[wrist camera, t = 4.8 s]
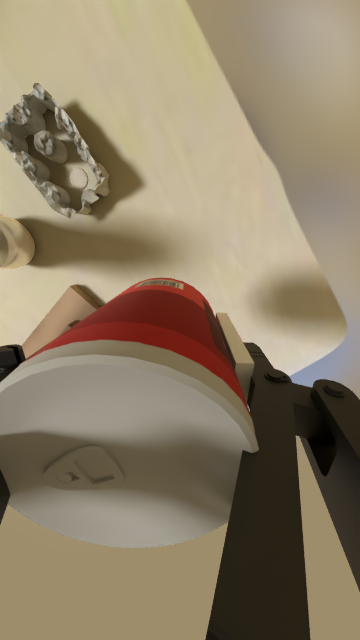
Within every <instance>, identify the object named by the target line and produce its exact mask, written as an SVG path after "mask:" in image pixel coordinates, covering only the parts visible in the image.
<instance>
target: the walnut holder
mask: <svg viewBox="0 0 360 640" xmlns="http://www.w3.org/2000/svg"><path fill="white" fill-rule="evenodd" d="M99 308H101V307H100V306H99V305H98V304H97V303H96V302H95V301H94V300H92V299H91V298H90V297H89V296H88V295H87V294H86V293H85V292H83V291H82V290H81V289H80V288H79V287H78V286H77V285H73V286H70V287H69V288H68V289H67V290H66V292H65V293H64V294H63V295H62V297H61V298H60V299H59V300H58V301H57V303H56V304H55V305H54V306H53V308H52V309H51V310H50V311H49V313H48V314H47V315H46V316H45V318H44V319H43V320H42V321H41V322H40V324H39V325H38V326H37V327H36V329H35V330H34V331H33V332H32V334H31V335H30V336H29V337H28V339H27V340H26V341H25V342H24V344H23V345H22V348H23V351H24V355H25V358H26V359H27V358H28V357H29V356H31V355H32V354H34V353H35V352H37V351H39V349H41V348H42V347H44V346H45V345H47V344H48V343H49V342H51V341H53V340H54V339H56V338H57V337H58V336H60V335H61V334H63V333H64V332H66V331H67V330H69V329H70V328H72V327H73V326H74V325H76V324H77V323H79V322H80V321H82V320H83V319H85V318H86V317H87V316H89V315H90V314H92V313H93V312H95V311H96V310H98V309H99Z"/></svg>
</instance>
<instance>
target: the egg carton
mask: <svg viewBox="0 0 360 640" xmlns="http://www.w3.org/2000/svg"><path fill="white" fill-rule="evenodd" d="M33 88H34V90H33V92H32V93H31V94H29V95H22V96H21V101H20V103H18V104H17V105H14V106H13V108H12V110H10V111H9V112H7V113H5V115H6V120H5V121H2V122H0V141H1V142H2V144H3V145H4V146H5V147H6V149H7V150H8V151H9V152H10V153H11V154H12V155H13V156H14V158H15V160H16V162H17V163H19V164H20V165H21V167H22V171H23V172H24V173H25V174H26V175H27V176H28V177H29V179H30V180H31V181H32V182H33V184H34V185H35V187H36V188H37V189H38V190H39V191H40V192H41V194H42V195H43V197H44V198H45V199H46V201H47V202H48V204H49V205H50V206H51V207H52V208H53V209H54V210H55V211H57V212H58V213H60V214H62V215H64V216H67V217H68V218H70V219H71V218H73V217H74V216H75V213H76V212H79V213H81V214H84V215H87V214H88V213H89V212H91V208H90V204H92V203H94V202H95V201H96V200H97V199H99V197H97V196H96V194H97V193H99V194H101V195H102V196H104V197H105V196H106V195H107V194H108V193H109V192H110V190H109V187H108V179H109V174H108V172H107V171H106V170H105V168H104V166H103V165H101V164H100V163H98V162H95V161H94V159H93V158H92V156H91V155H90V153H89V150H90V148H89V147H88V145H87V144H86V142H85V141H84V140H83V139H82V137H81V136H80V134H79V132H78V130H77V128H76V126H75V124H74V123H73V121H72V120H71V119H70V117H69V116H68V115H67V113H66V112H65V111H64V110H63V109H62V108H61V106H60V105H59V104H58V103H57V102H56V101H55V100H54V99H53V98H52V96H51V95H50V94H49V93H48V92H47V91H46V90H44V89H43V87H42V86H41V85H40V84H38V83H35V84H34V85H33ZM47 109H49V110H51V111H52V112H54V113H55V119H56V122H57V127H58V128H59V129H60V130H61V131H63V132H64V133H65V134H66V135H67V136H68V137H70V138H71V139H72V140H73V141H74V143H75V144H76V146H77V151H78V154H79V155H80V156H81V158H80V159H82V160H83V161H85V162H87V163H88V164H89V166H90V167H91V169H92V170H93V172H94V174H95V176H96V178H97V184H96V186H95V187H94V190H91V189H88V190H86V191H84V192H83V194H82V197H81V201H82V207H83V208H82V209H81V210H80V211H76V210H74V209H73V208H69V207H68V206H69V204H70V196H69V194H68V192H67V191H66V190H64V189H63V188H61V187H59V186H57V185H54V184H53V183H51V182H48V180H49V177H50V173H49V170H48V168H47V166H46V165H45V164H44V163H42V162H40V161H38V160H37V159H35V158H33V157H32V156H30V155H29V154H28V145H27V142H26V140H25V139H26V137H27V135H34V145H35V148H36V150H37V151H39V152H40V153H41V154H43V155H44V156H45V157H47V158H49V159H50V160H52V161H54V162H55V163H59V164H62V163H64V162H65V161H66V160H67V157H68V153H67V149H66V147H65V145H64V144H63V143H62V142H61V141H60V140H59V139H57V138H56V137H55V136H54V135H53V134H52V133H50V132H49V131H45V130H46V123H45V120H44V118H43V113H44V112H45V111H46V110H47ZM70 181H71V183H72V185H73V186H74V187H75V188H77V189H84V188H86V186H87V183H88V176H87V174H86V172H84V170H82V169H81V168H74V169H72V171H71V172H70Z"/></svg>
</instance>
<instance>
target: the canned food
mask: <svg viewBox="0 0 360 640" xmlns="http://www.w3.org/2000/svg"><path fill="white" fill-rule="evenodd" d="M242 450H245V451H248V452H250V453H254V452H256V451H258V450H259V448H258V444H257V440H256V437H255V429H254V425H253V421H252V418H251V415H250V412H249V409H248V407H247V404H246V401H245V398H244V395H243V391H242V388H241V385H240V383H239V380H238V377H237V375H236V372H235V369H234V367H233V364H232V361H231V359H230V356H229V353H228V351H227V348H226V345H225V343H224V340H223V337H222V335H221V332H220V330H219V327H218V324H217V322H216V319H215V316H214V314H213V311H212V309H211V307H210V305H209V303H208V301H207V300H206V299H205V297H204V296H203V295H202V294H201V293H200V292H199V291H198V290H196V289H195V288H194V287H193V286H191V285H189V284H187V283H185V282H183V281H179V280H175V279H172V278H153V279H147V280H144V281H141V282H138V283H137V284H135V285H133V286H131V287H130V288H128V289H127V290H125V291H124V292H122V293H121V294H119V295H118V296H116V297H115V298H114V299H112V300H111V301H109V302H108V303H106V304H105V305H103V306H102V307H101V308H99V309H98V310H96V311H95V312H93V313H92V314H90V315H89V316H87V317H86V318H85V319H83V320H82V321H80V322H79V323H77V324H76V325H74V326H73V327H72V328H70V329H69V330H67V331H66V332H64V333H63V334H61V335H60V336H58V337H57V338H56V339H54V340H53V341H51V342H50V343H49V344H47V345H46V346H45V347H44V348H43V349H41V350H40V351H38V352H37V353H36V354H34V355H33V356H31V357H30V358H28V359H27V360H26V361H24V362H23V363H21V364H20V365H19V366H18V367H17V368H16V369H15V370H14V371H13V372H12V373H11V374H9V375H8V376H7V377H6V378H5V379H4V380H3V381H2V382H0V469H1V471H2V474H3V476H4V478H5V481H6V483H7V486H8V489H9V492H10V494H11V495H10V498H9V501H8V504H9V505H10V506H11V507H13V508H14V509H15V510H17V511H18V512H19V513H21V514H22V515H23V516H25V517H26V518H28V519H30V520H32V521H34V522H35V523H37V524H39V525H41V526H42V527H45V528H47V529H49V530H52V531H54V532H57V533H59V534H61V535H64V536H67V537H71V538H74V539H78V540H81V541H84V542H89V543H94V544H99V545H105V546H115V547H126V548H131V547H132V548H133V547H135V548H137V547H138V548H139V547H140V548H144V547H146V548H148V547H157V546H166V545H172V544H176V543H180V542H185V541H189V540H191V539H194V538H197V537H199V536H202V535H205V534H207V533H209V532H211V531H213V530H215V529H217V528H219V527H220V526H222V525H224V524H226V523H228V522H229V517H230V512H231V507H232V501H233V496H234V491H235V486H236V481H237V476H238V471H239V465H240V460H241V455H242Z"/></svg>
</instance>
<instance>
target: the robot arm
mask: <svg viewBox="0 0 360 640" xmlns="http://www.w3.org/2000/svg"><path fill="white" fill-rule="evenodd" d="M216 322H217V324H218V327H219V330H220V332H221V335H222V337H223V340H224V343H225V345H226V348H227V351H228V353H229V356H230V359H231V361H232V364H233V367H234V369H235V372H236V375H237V377H238V380H239V383H240V385H241V388H242V391H243V395H244V398H245V401H246V404H247V405H248V406H249V409H250V415H251V418H252V421H253V425H254V429H255V437H256V440H257V444H258V448H259V450H258V451H256V452H254V453H250V452H248V451H245V450H242V455H241V460H240V465H239V471H238V476H237V481H236V486H235V491H234V496H233V501H232V507H231V512H230V517H229V522H228V527H227V533H226V538H225V543H224V548H223V553H222V558H221V563H220V569H219V574H218V579H217V584H216V589H215V594H214V600H213V605H212V610H211V615H210V620H209V625H208V630H207V635H206V639H205V640H310V628H309V615H308V601H307V587H306V573H305V559H304V545H303V532H302V517H301V504H300V490H299V477H298V462H297V448H296V435H297V436H300V439H301V442H302V444H303V447H304V449H305V452H306V454H307V457H308V460H309V462H310V465H311V467H312V470H313V473H314V475H315V478H316V480H317V483H318V485H319V488H320V491H321V493H322V496H323V498H324V501H325V503H326V506H327V509H328V511H329V514H330V516H331V519H332V521H333V524H334V527H335V529H336V532H337V534H338V537H339V539H340V541H341V544H342V547H343V550H344V552H345V555H346V557H347V560H348V563H349V565H350V568H351V570H352V573H353V575H354V578H355V580H356V583H357V585H358V588H359V591H360V400H359V398H358V397H357V396H356V395H355V394H354V393H353V392H352V391H351V390H350V389H349V388H347V387H345V386H344V385H342V384H340V383H338V382H335V381H330V380H326V379H320V380H316V381H315V382H314V384H313V387H312V388H311V387H307V386H302V385H298V384H295V383H292V381H291V379H290V377H289V376H288V375H287V374H285V373H284V372H282V371H279V370H277V369H274V368H273V366H272V365H271V363H270V362H269V360H268V359H267V358H266V356H265V355H264V353H263V352H262V350H261V349H260V347H258V346H257V345H255V344H254V343H244V342H242V340H241V338H240V336H239V335H238V333H237V331H236V329H235V327H234V326H233V324H232V322H231V320H230V318H229V317H228V315H227V313H216ZM49 343H50V342H49ZM49 343H48V344H49ZM45 346H46V345H45ZM45 346H44V347H45ZM44 347H42V348H41V349H43V348H44ZM41 349H39V351H40V350H41ZM37 352H38V351H37ZM37 352H35V353H34V354H36V353H37ZM34 354H32V355H31V356H33V355H34ZM31 356H29V357H28V358H30V357H31ZM28 358H27V359H28ZM27 359H26V358H25V355H24V351H23V348H22V346H20V345H16V344H15V345H6V346H1V347H0V382H2V381H3V380H4V379H5V378H6V377H7V376H8V375H9V374H11V373H12V372H13V371H14V370H15V369H16V368H17V367H18V366H19V365H20V364H21V363H23V362H24V361H26V360H27ZM10 495H11V494H10V492H9V489H8V486H7V483H6V481H5V478H4V476H3V474H2V471H1V469H0V524H1V521H2V518H3V515H4V513H5V510H6V507H7V504H8V501H9V498H10Z"/></svg>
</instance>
